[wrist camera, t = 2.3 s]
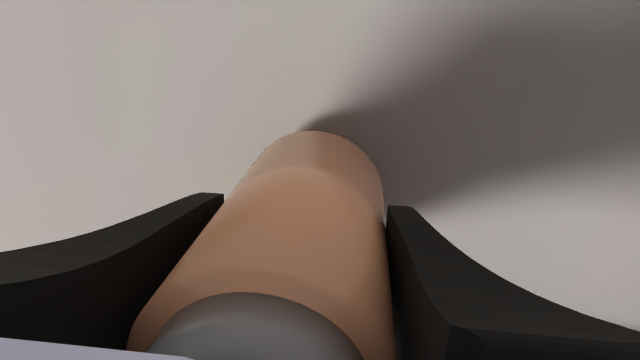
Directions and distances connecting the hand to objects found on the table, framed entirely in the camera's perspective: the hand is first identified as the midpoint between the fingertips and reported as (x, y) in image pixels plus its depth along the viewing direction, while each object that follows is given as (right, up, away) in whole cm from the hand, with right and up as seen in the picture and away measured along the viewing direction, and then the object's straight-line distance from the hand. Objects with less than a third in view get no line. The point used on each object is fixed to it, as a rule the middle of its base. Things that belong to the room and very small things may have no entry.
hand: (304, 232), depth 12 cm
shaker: (0, +1, +2) cm, 2 cm away
